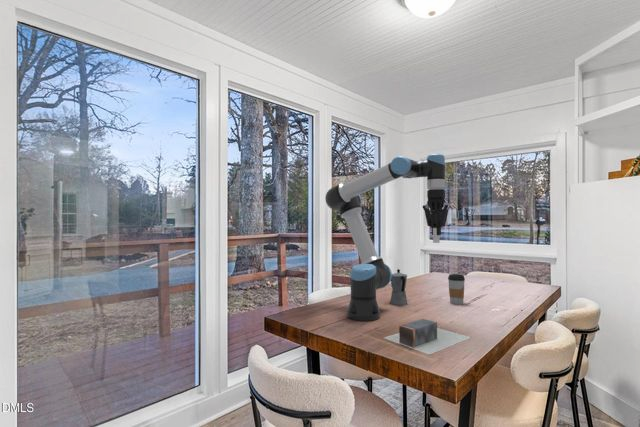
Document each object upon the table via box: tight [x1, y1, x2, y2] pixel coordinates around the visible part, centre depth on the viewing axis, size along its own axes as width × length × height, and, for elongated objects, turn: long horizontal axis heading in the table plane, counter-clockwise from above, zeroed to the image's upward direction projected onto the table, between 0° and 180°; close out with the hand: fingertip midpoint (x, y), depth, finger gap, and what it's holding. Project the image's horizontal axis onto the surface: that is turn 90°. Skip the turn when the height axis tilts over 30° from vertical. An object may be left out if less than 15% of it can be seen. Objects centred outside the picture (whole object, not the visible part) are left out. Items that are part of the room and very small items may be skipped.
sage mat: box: [383, 327, 472, 355], centre depth 127 cm, size 26×20×1 cm
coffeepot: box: [390, 269, 408, 306], centre depth 181 cm, size 15×9×18 cm, turn 6°
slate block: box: [398, 318, 438, 348], centre depth 124 cm, size 6×6×14 cm
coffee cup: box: [447, 273, 466, 306], centre depth 180 cm, size 8×8×15 cm
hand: (436, 242), depth 152 cm, fingers closed
